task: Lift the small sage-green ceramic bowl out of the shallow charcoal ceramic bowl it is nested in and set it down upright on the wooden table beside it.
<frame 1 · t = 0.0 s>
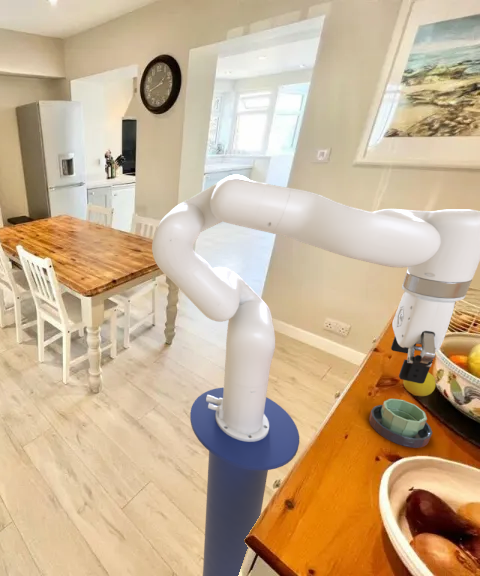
hand: (405, 365, 59), 22 cm above the sideboard, tool pointing down, fingers open, 9 cm apart
lemon: (414, 395, 79), on the sideboard
top bowl: (397, 427, 71), resting on bottom bowl
bottom bowl: (397, 428, 71), on the sideboard
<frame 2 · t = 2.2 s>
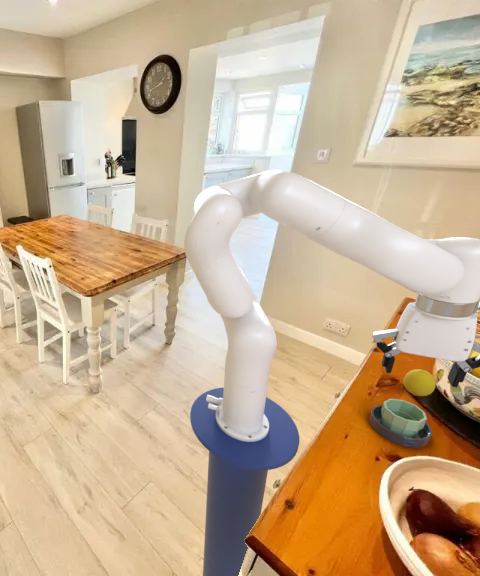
hand: (418, 375, 64), 16 cm above the sideboard, tool pointing down, fingers open, 9 cm apart
nothing on the sideboard moved.
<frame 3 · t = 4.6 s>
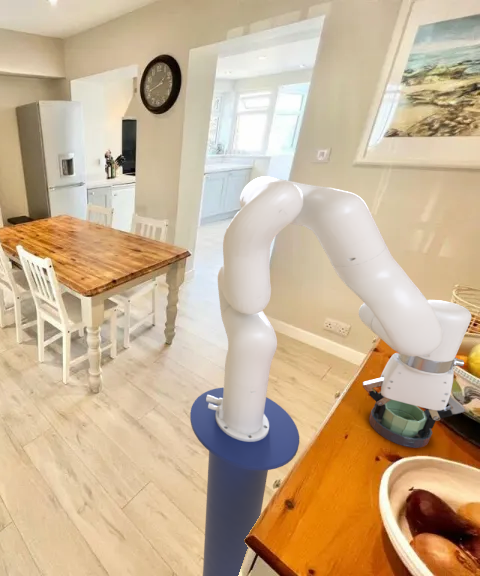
hand: (400, 421, 70), 2 cm above the sideboard, tool pointing down, fingers closed on top bowl, 6 cm apart
top bowl: (397, 427, 71), resting on bottom bowl, touching gripper
everything else where it was.
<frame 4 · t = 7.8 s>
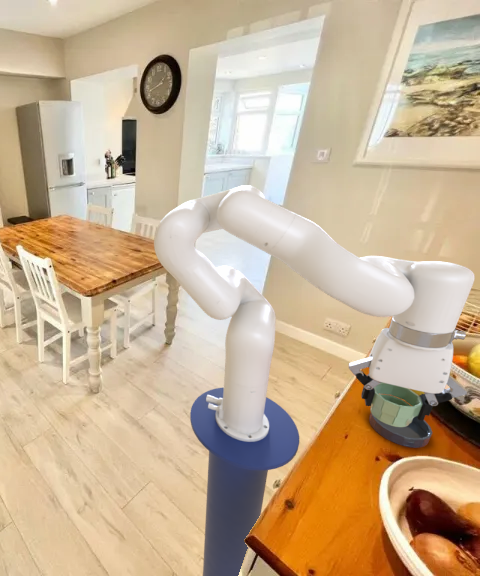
hand: (392, 407, 60), 14 cm above the sideboard, tool pointing down, fingers closed on top bowl, 6 cm apart
top bowl: (389, 415, 61), point 12 cm above the sideboard, touching gripper
everything else where it was.
when the fingers open (2 cm above the sideboard, at t = 11.0 s): top bowl stays where it is, on the sideboard.
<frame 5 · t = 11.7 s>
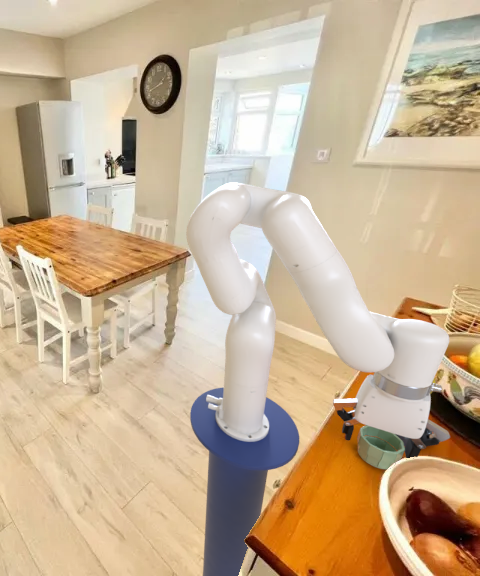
hand: (376, 445, 64), 3 cm above the sideboard, tool pointing down, fingers open, 9 cm apart
top bowl: (375, 456, 65), on the sideboard
everything else where it was.
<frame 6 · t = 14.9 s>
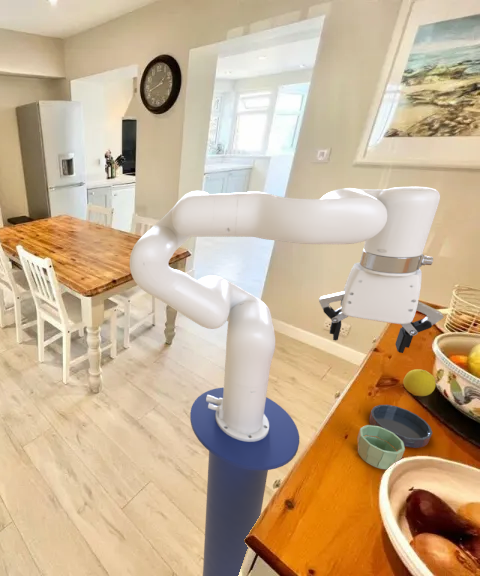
hand: (365, 342, 60), 26 cm above the sideboard, tool pointing down, fingers open, 9 cm apart
nothing on the sideboard moved.
at the end: top bowl inside the target area (0.2 cm from its centre), on the sideboard; top bowl tilted 0°; top bowl touching sideboard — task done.
